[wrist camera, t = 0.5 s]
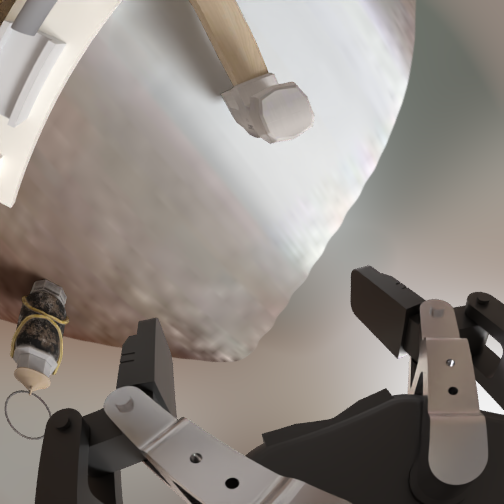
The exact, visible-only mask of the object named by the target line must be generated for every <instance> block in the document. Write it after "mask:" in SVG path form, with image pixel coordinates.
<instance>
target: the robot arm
mask: <svg viewBox="0 0 504 504" xmlns="http://www.w3.org/2000/svg"><path fill="white" fill-rule="evenodd" d="M351 307H352V310H353V312H354V314H355V315H356V316H357V317H358V319H359V320H360V321H361V322H362V323H364V325H365V326H366V327H367V328H368V329H369V330H370V331H371V332H372V333H373V334H374V335H375V336H376V337H377V338H378V339H379V340H380V341H381V342H382V343H383V344H384V345H385V346H386V347H387V348H388V349H389V350H390V351H391V353H392V354H393V355H395V357H396V358H397V359H399V358H402V357H403V356H406V355H408V354H409V355H410V361H409V377H408V394H401V395H394V396H392V395H391V394H390V393H389V391H388V390H387V389H383V390H381V391H379V392H377V393H375V394H372V395H370V396H368V397H366V398H363V399H361V400H359V401H358V402H356V403H355V404H353V405H352V406H350V407H349V408H347V409H346V410H345V411H343V412H342V413H340V414H339V415H337V416H336V417H334V418H332V419H329V420H322V421H316V422H308V423H300V424H294V425H291V426H287V427H284V428H281V429H278V430H274V431H271V432H267V433H264V434H262V437H263V442H264V443H263V444H262V445H260V446H258V447H256V448H255V449H253V450H252V451H251V452H249V453H248V454H247V455H246V456H244V455H242V454H241V453H239V452H237V451H236V450H234V449H232V448H231V447H229V446H228V445H226V444H225V443H223V442H221V441H220V440H218V439H217V438H215V437H213V436H212V435H211V434H209V433H208V432H206V431H205V430H203V429H202V428H200V427H199V426H197V425H196V424H195V423H193V422H192V421H190V420H188V419H187V418H184V417H182V418H180V419H179V420H178V419H177V415H176V403H175V391H174V377H173V363H172V357H171V353H170V350H169V347H168V344H167V341H166V339H165V336H164V333H163V330H162V327H161V324H160V322H159V319H158V318H152V319H148V320H143V321H139V323H138V330H137V335H133V336H129V337H128V339H127V340H126V341H125V343H124V344H123V347H122V353H121V355H122V356H121V359H120V365H119V373H118V379H117V386H116V390H115V391H113V392H112V393H110V394H109V395H108V396H107V398H106V399H105V402H104V408H102V409H101V410H98V411H96V412H93V413H91V414H88V415H86V416H83V417H82V416H81V414H80V413H79V412H78V411H77V410H74V409H71V408H66V409H62V410H59V411H57V412H56V413H54V414H53V415H52V416H51V417H50V418H49V420H48V422H47V425H46V429H45V434H44V439H43V444H42V451H41V457H40V463H39V470H38V478H37V487H36V497H35V504H123V501H122V488H121V471H120V470H121V469H123V468H126V467H128V466H131V465H134V464H136V463H138V462H141V461H142V462H143V463H144V464H145V465H146V466H147V467H148V468H149V469H150V470H152V471H153V472H154V473H155V474H156V475H157V476H158V477H159V478H160V479H161V480H162V481H163V482H164V483H166V484H167V485H168V486H169V487H170V488H171V489H172V490H174V491H175V492H176V493H177V494H178V495H179V496H180V497H181V498H182V499H183V500H184V501H186V502H187V503H188V504H504V415H501V414H496V413H491V412H486V411H482V410H479V402H478V394H477V387H476V381H477V382H478V383H479V384H480V385H481V386H482V387H483V388H484V389H485V390H486V391H487V393H488V394H489V395H490V396H491V397H492V398H493V399H494V400H495V401H496V402H497V403H498V404H499V405H500V406H501V407H502V409H503V410H504V304H503V303H501V302H500V301H499V300H497V299H496V298H494V297H493V296H491V295H489V294H487V293H483V292H475V293H471V294H470V295H469V296H468V298H467V302H466V306H460V307H455V308H453V307H452V306H451V305H450V304H449V303H447V302H445V301H443V300H438V299H431V300H427V301H426V300H424V299H423V298H421V297H420V296H419V295H417V294H416V293H415V292H413V291H412V290H410V289H409V288H406V286H405V285H403V284H402V283H401V284H400V282H399V281H398V280H396V279H395V278H393V277H392V276H389V275H386V274H383V273H380V272H378V271H377V270H376V269H374V268H372V267H371V266H365V267H361V268H358V269H354V270H353V271H352V273H351ZM489 334H490V335H491V336H492V337H493V338H495V339H496V340H497V341H498V342H499V343H500V344H501V345H502V348H503V355H502V358H501V359H500V358H499V357H498V356H497V355H496V354H495V353H494V352H493V351H492V350H490V349H489V348H488V347H487V346H486V345H485V344H486V341H487V338H488V335H489Z"/></svg>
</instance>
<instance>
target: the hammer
mask: <svg viewBox="0 0 504 504" xmlns="http://www.w3.org/2000/svg"><path fill="white" fill-rule="evenodd" d="M189 1H190V3H191V5H192V6H193V8H194V9H195V11H196V13H197V15H198V17H199V19H200V21H201V23H202V25H203V27H204V29H205V31H206V33H207V35H208V37H209V39H210V41H211V43H212V45H213V47H214V49H215V51H216V53H217V55H218V58H219V59H220V61H221V63H222V65H223V67H224V69H225V71H226V73H227V75H228V76H229V78H230V80H231V82H232V84H233V86H234V87H233V88H232V89H231V90H228V91H226V92H224V93H221V96H222V97H223V99H224V101H225V103H226V105H227V107H228V109H229V111H230V112H231V114H232V116H233V117H234V119H235V121H236V122H237V123H238V124H239V125H241V126H242V127H243V128H244V129H245V130H246V131H247V132H248V133H249V134H250V135H252V136H254V137H257V138H260V137H261V138H262V139H264V140H265V141H267V142H268V143H270V144H271V143H275V142H280V141H286V140H292V139H294V138H296V137H298V136H299V135H301V134H302V133H304V132H305V131H307V130H308V129H310V128H311V127H313V121H314V114H313V111H312V108H311V106H310V103H309V100H308V98H307V96H306V95H305V94H304V93H303V92H302V90H301V89H300V88H299V87H298V86H297V85H296V84H295V83H294V82H288V83H284V84H278V82H277V80H276V77H275V75H274V74H272V73H268V70H267V67H266V65H265V63H264V60H263V58H262V55H261V53H260V50H259V48H258V46H257V43H256V41H255V39H254V37H253V35H252V33H251V31H250V28H249V26H248V24H247V22H246V20H245V18H244V16H243V14H242V12H241V10H240V8H239V6H238V4H237V2H236V0H189Z"/></svg>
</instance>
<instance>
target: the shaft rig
mask: <svg viewBox="0 0 504 504" xmlns="http://www.w3.org/2000/svg"><path fill="white" fill-rule="evenodd" d="M121 2H122V0H16V2H15V3H14V5H13V6H12V8H11V10H10V11H9V13H8V15H7V16H6V18H5V20H4V21H3V23H2V25H1V27H0V203H2V204H4V205H6V206H8V207H10V208H11V207H12V206H13V204H14V203H15V200H16V197H17V193H18V190H19V187H20V184H21V181H22V179H23V176H24V173H25V170H26V168H27V165H28V162H29V160H30V157H31V155H32V152H33V150H34V147H35V145H36V143H37V140H38V138H39V136H40V133H41V131H42V129H43V127H44V125H45V123H46V120H47V118H48V116H49V114H50V112H51V110H52V108H53V106H54V104H55V102H56V100H57V98H58V97H59V95H60V93H61V91H62V89H63V87H64V85H65V84H66V82H67V80H68V78H69V77H70V75H71V73H72V72H73V70H74V68H75V67H76V65H77V63H78V62H79V60H80V59H81V57H82V55H83V54H84V52H85V51H86V49H87V48H88V46H89V45H90V43H91V42H92V40H93V39H94V37H95V36H96V35H97V33H98V32H99V30H100V29H101V28H102V26H103V25H104V23H105V22H106V21H107V19H108V18H109V17H110V15H111V14H112V13H113V12H114V10H115V9H116V8H117V7H118V5H119V4H120V3H121Z"/></svg>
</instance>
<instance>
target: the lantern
mask: <svg viewBox="0 0 504 504" xmlns="http://www.w3.org/2000/svg"><path fill="white" fill-rule="evenodd" d="M22 302H23V304H22V308H21V312H20V316H19V320H18V324H17V329H16V332H15V334H14V336H13V339H12V343H11V353H10V356H11V357H12V358H13V359H14V360H15V362H16V363H17V369H16V370H15V372H14V376H15V378H16V379H17V380H18V381H20V382H21V383H22V384H23V385H24V386H25V387H26V388H27V389H28V390H29V392H28V391H22V390H21V391H16V392H14V393H12V394H11V395H10V396H9V397H8V398H7V400H6V403H5V415H6V418H7V421H8V422H9V424H10V426H11V427H12V428H13V430H14V431H16V432H17V433H18V434H19V435H21V436H22V437H25V438H27V439H32V440H38V439H42V438H44V435H43V436H41V437H38V438H30V437H26V436H24V435H22V434H20V433H19V432H18V431H17V430H16V429H15V428H14V427H13V426H12V425H11V423H10V421H9V419H8V416H7V411H6V410H7V403H8V400H9V399H10V397H11V396H12V395H14V394H16V393H20V392H25V393H29V395H31V394H32V395H34V396H36V397H37V398H39V397H38V396H37V395H35V394H33V393H32V392H33V391H35V390H38V389H44V388H47V387H49V385H50V380H49V376H50V374H53V375H54V374H56V372H57V369H58V367H59V365H60V362H61V360H62V354H63V342H62V338H63V333H64V327H65V324H66V323H68V321H69V318H68V317H67V316H66V310H65V308H64V307H65V306H64V304H65V302H66V295H65V293H64V291H63V289H62V287H60V286H58V285H56V284H54V283H52V282H50V281H48V280H41V281H36V282H35V283H34V285H33V287H32V290H31V292H30V294H29V295H28V296H23V297H22ZM14 350H15V352H14ZM39 399H40V400H41V401H42V402H43V404H44V405H45V406H46V408H47V410H48V412H49V415H50V417H51V413H50V411H49V408H48V407H47V405H46V404H45V402H44V401H43V400H42V399H41V398H39Z"/></svg>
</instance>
